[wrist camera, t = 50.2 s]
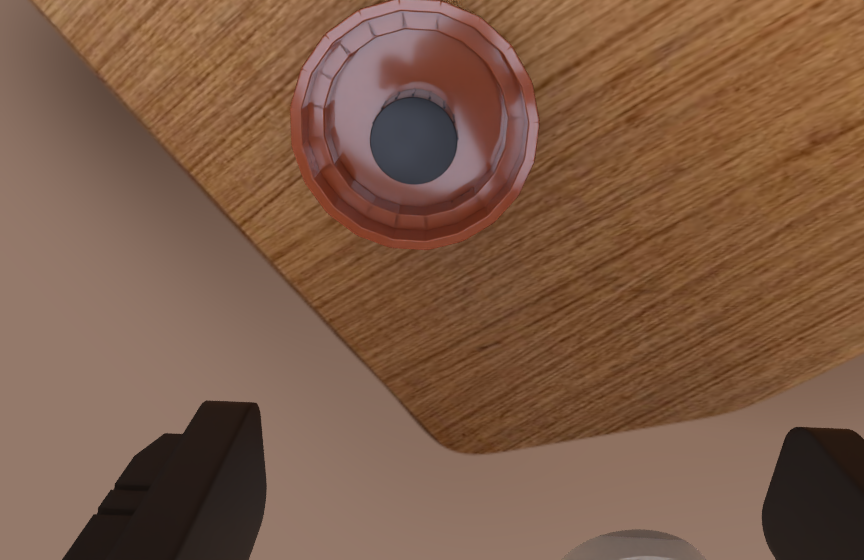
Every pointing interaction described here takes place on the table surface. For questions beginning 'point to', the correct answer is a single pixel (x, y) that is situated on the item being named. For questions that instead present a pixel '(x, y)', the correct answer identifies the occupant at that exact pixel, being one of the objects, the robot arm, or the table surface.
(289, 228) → the table surface
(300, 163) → the dish
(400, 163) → the cap
